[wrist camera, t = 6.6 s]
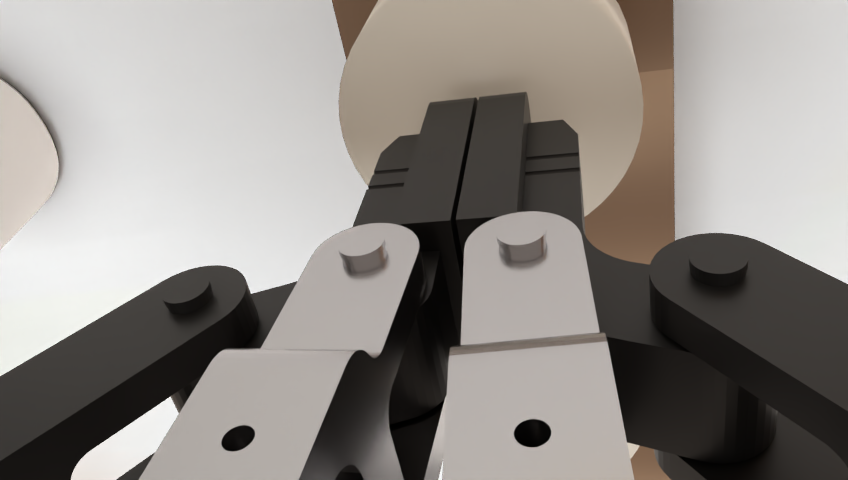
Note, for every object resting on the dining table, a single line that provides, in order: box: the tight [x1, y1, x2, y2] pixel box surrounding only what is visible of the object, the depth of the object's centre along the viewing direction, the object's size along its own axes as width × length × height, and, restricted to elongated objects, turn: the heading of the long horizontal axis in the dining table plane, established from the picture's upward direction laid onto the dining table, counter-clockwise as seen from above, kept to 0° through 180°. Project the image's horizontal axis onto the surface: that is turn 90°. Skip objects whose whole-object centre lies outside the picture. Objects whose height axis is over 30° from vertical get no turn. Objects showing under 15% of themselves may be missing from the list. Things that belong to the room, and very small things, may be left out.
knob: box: [339, 0, 643, 217], centre depth 16 cm, size 5×5×8 cm
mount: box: [332, 0, 675, 480], centre depth 22 cm, size 20×7×7 cm, turn 10°
